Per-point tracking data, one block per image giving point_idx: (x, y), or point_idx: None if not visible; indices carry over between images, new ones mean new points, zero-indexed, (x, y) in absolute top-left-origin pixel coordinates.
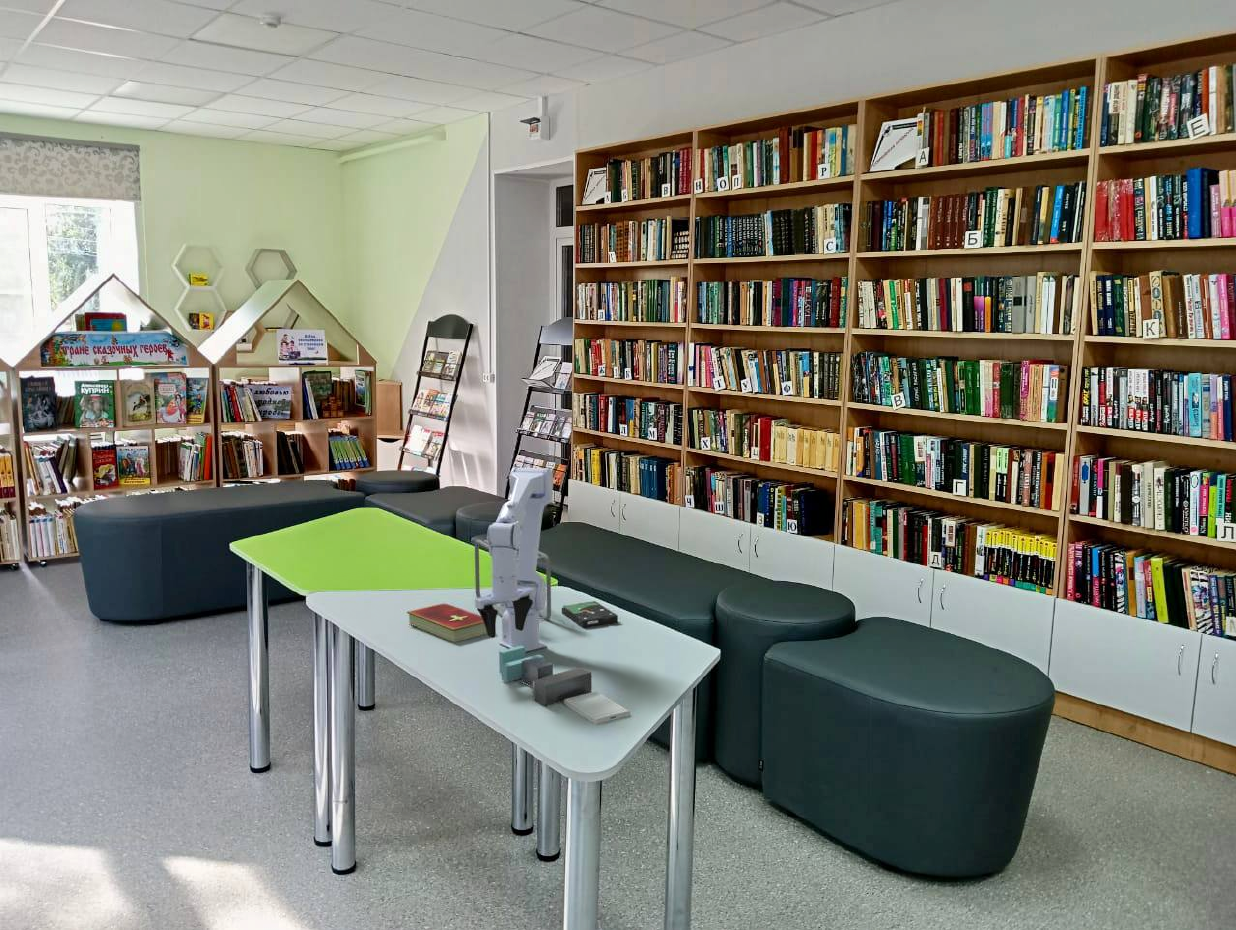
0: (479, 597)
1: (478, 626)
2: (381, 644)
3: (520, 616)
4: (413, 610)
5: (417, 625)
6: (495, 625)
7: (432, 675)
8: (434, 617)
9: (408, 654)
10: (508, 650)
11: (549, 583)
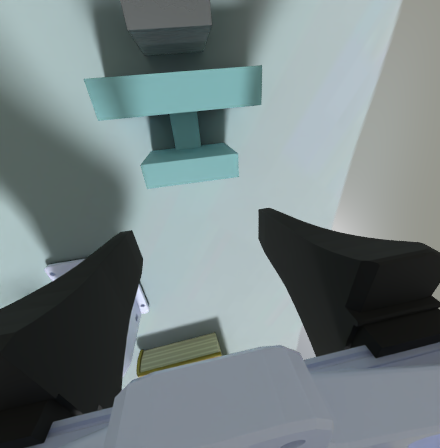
0: None
1: (166, 362)
2: (296, 347)
3: (111, 281)
4: None
5: None
6: (286, 225)
7: (329, 223)
8: None
9: (294, 312)
10: (210, 165)
11: None
